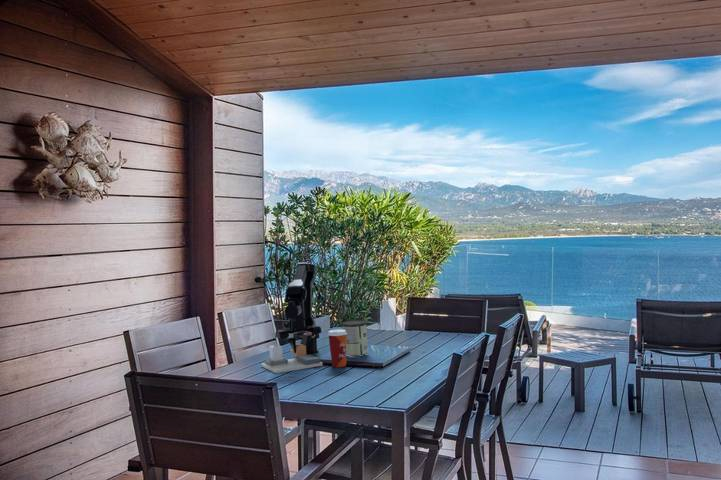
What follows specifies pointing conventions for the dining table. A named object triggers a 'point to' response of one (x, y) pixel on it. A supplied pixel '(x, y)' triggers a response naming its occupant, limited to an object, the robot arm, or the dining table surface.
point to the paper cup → (338, 347)
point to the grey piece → (308, 359)
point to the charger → (275, 353)
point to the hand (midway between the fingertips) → (299, 352)
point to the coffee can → (356, 337)
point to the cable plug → (300, 350)
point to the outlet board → (286, 365)
